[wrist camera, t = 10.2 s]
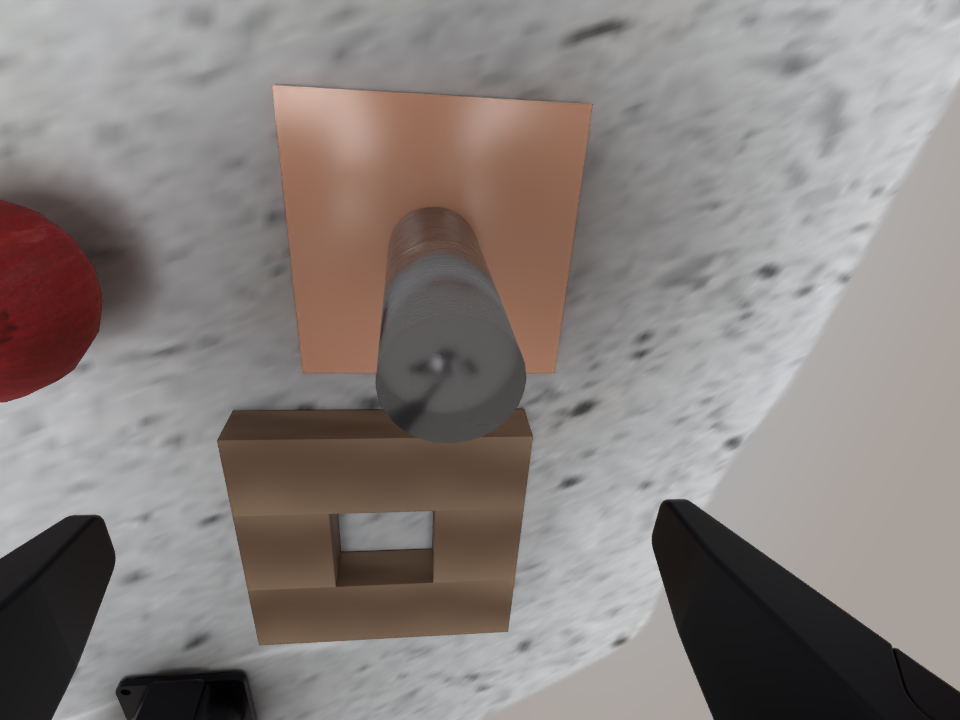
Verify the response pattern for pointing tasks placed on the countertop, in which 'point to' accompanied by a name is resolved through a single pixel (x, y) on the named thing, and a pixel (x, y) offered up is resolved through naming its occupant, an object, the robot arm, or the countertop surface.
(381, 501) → the plate
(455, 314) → the peg
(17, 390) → the onion
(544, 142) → the tile
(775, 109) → the countertop surface
